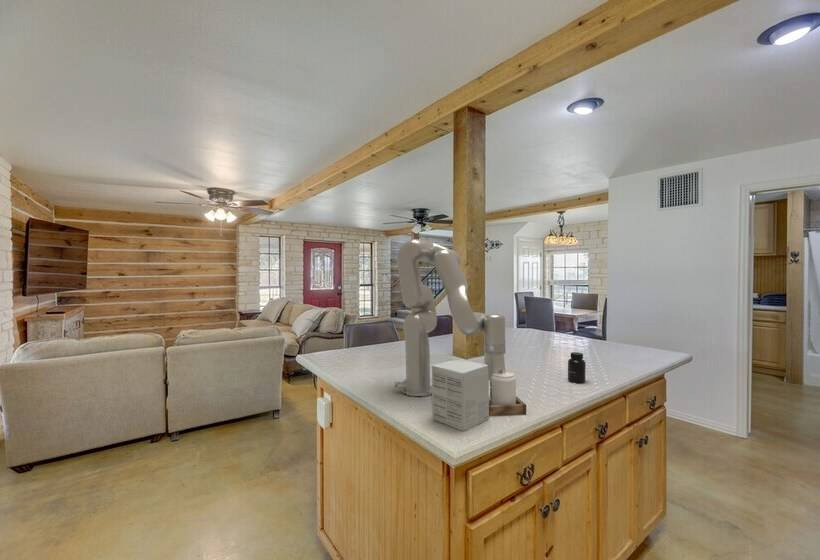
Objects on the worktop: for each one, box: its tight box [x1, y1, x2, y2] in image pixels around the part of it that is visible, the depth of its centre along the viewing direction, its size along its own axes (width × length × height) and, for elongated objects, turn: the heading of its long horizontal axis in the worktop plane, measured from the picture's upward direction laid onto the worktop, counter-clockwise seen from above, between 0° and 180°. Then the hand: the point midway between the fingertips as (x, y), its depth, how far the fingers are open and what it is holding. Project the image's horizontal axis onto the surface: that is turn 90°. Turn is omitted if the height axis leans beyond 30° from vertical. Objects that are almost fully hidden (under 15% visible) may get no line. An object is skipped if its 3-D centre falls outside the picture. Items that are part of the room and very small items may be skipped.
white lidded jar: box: [490, 370, 517, 405], centre depth 125 cm, size 8×8×12 cm
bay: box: [489, 395, 527, 417], centre depth 125 cm, size 13×12×3 cm
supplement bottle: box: [567, 351, 587, 385], centre depth 154 cm, size 7×7×12 cm
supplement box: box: [431, 358, 490, 432], centre depth 116 cm, size 13×13×18 cm
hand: (495, 399), depth 131 cm, fingers closed
